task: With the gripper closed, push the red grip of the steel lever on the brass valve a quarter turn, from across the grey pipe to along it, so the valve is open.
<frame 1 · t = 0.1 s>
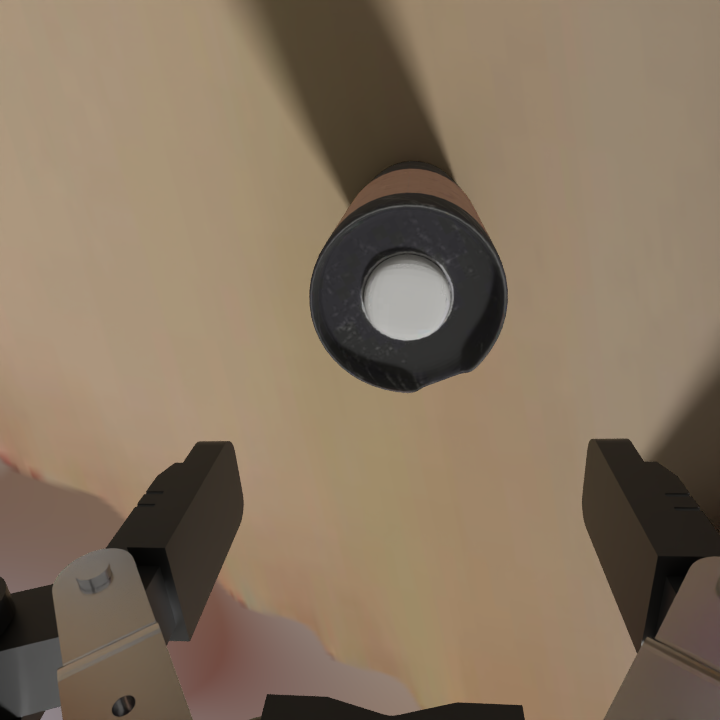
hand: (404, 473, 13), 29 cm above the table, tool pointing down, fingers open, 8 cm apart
travel mug: (411, 214, 39), on the table
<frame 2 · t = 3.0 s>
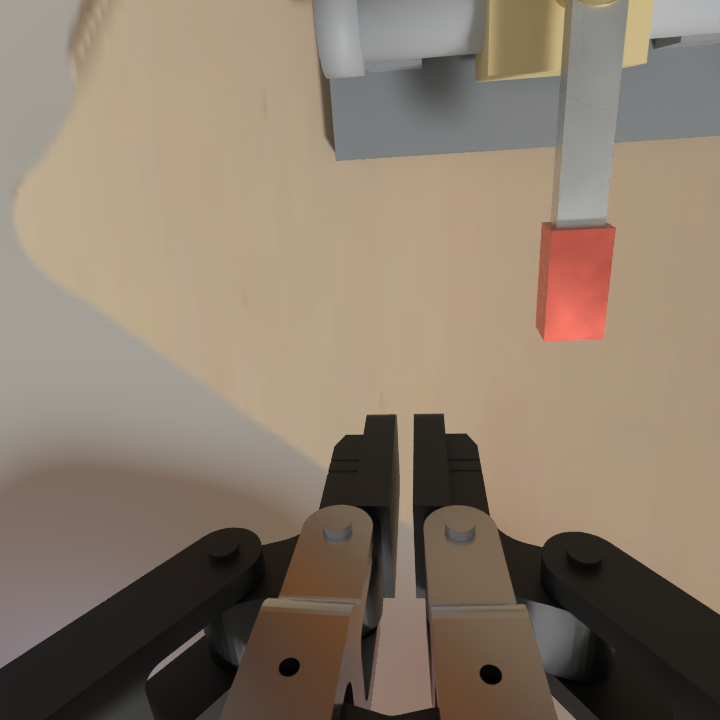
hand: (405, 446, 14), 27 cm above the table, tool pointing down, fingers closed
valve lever: (583, 153, 23), point 13 cm above the table, hinge at 0.0°
valve stand: (532, 18, 33), on the table
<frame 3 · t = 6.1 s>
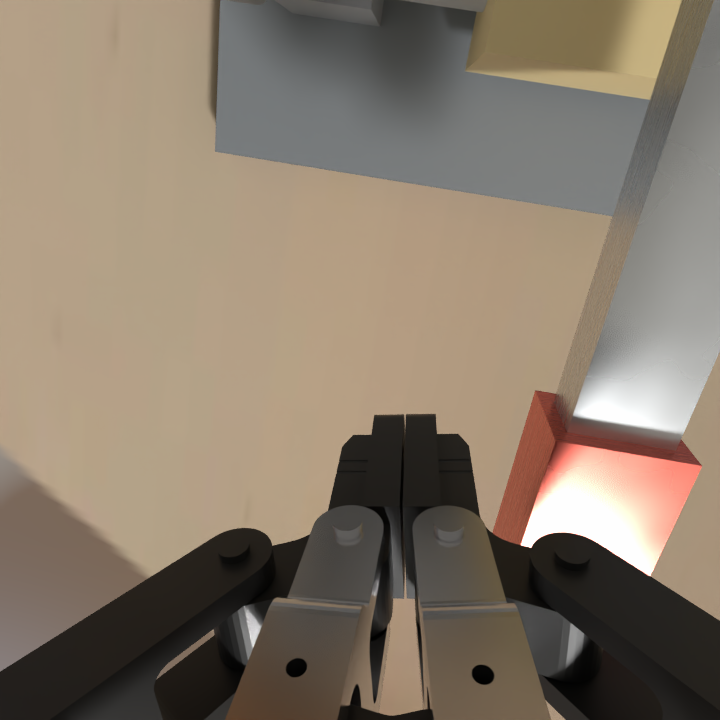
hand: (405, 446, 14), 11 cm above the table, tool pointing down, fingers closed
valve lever: (666, 279, 10), point 13 cm above the table, hinge at 0.4°, touching gripper
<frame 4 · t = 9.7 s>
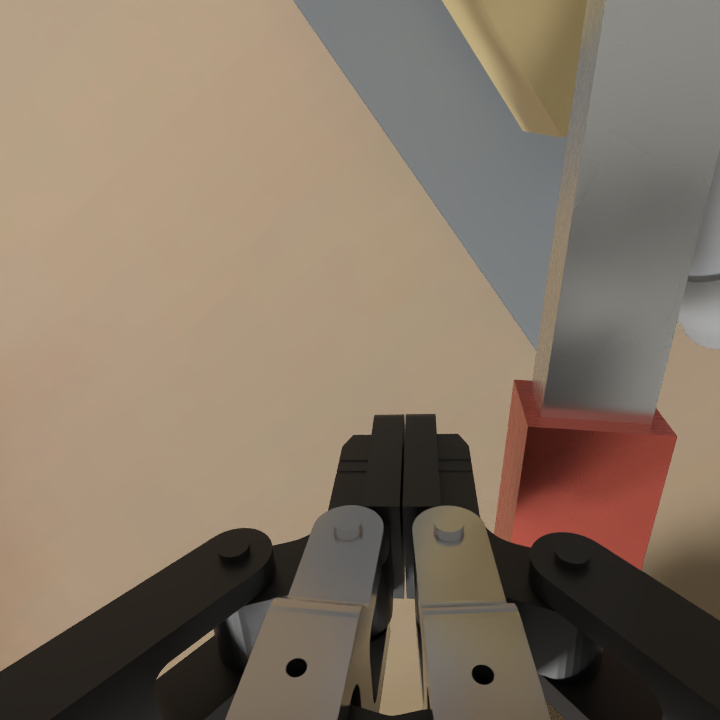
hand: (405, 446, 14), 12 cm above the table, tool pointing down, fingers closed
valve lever: (616, 257, 10), point 13 cm above the table, hinge at 52.0°, touching gripper
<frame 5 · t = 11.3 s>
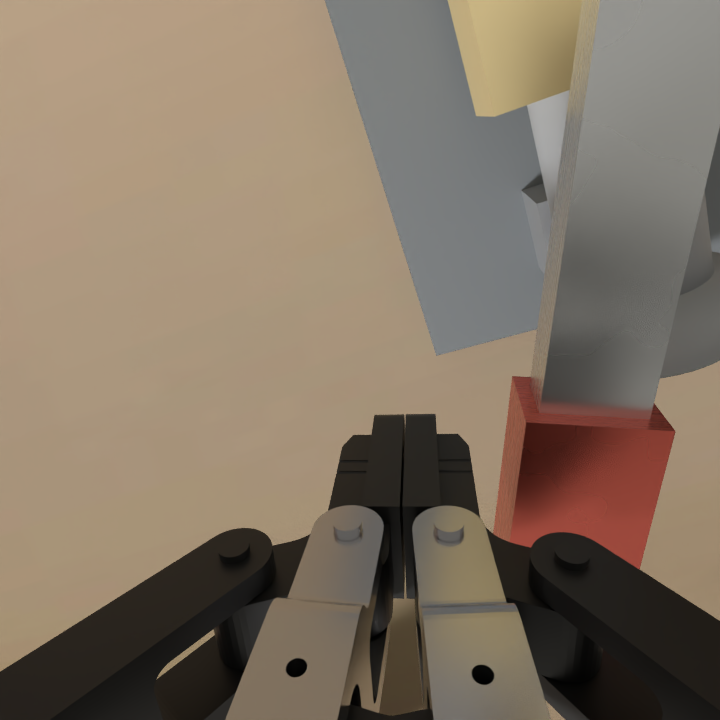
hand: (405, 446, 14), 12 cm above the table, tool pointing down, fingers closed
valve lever: (613, 253, 10), point 13 cm above the table, hinge at 70.8°, touching gripper
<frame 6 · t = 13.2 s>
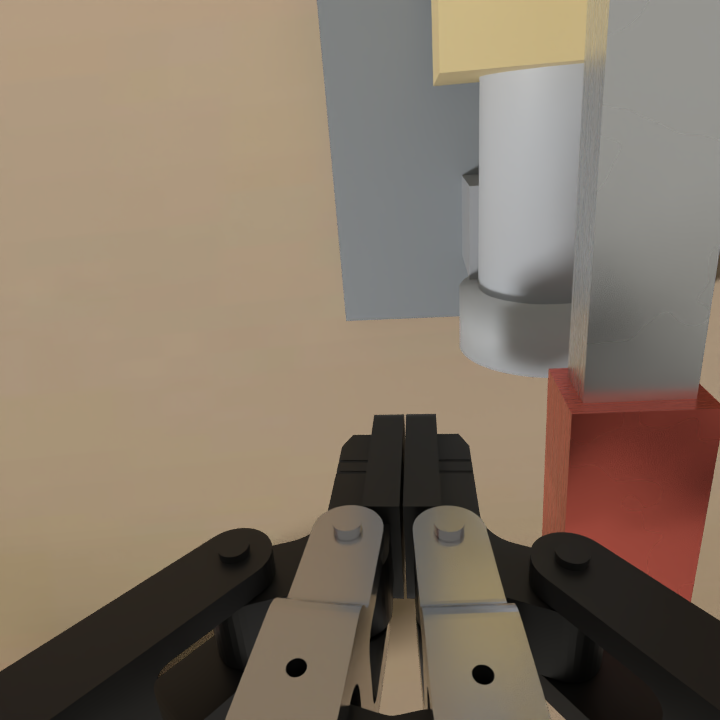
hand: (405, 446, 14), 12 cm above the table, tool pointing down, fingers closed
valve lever: (643, 235, 10), point 13 cm above the table, hinge at 91.1°
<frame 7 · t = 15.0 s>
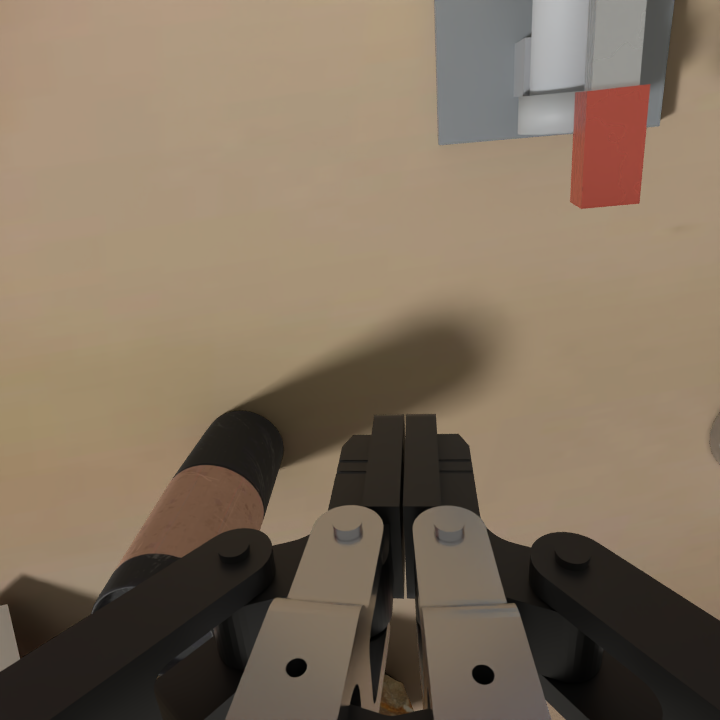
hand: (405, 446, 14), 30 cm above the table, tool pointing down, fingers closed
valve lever: (616, 11, 24), point 13 cm above the table, hinge at 91.1°
rough brown rock: (326, 670, 63), on the table
travel mug: (245, 443, 51), on the table
pizza boxes: (73, 684, 67), on the table
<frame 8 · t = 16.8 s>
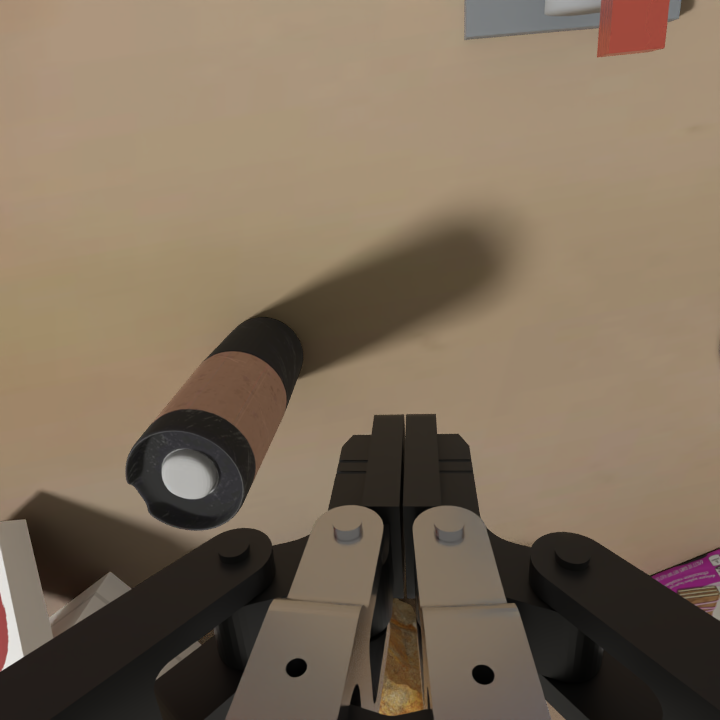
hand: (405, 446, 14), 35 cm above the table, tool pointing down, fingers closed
candy bar box: (675, 580, 58), on the table
rough brown rock: (336, 593, 64), on the table
travel mug: (266, 351, 52), on the table
pizza boxes: (85, 608, 69), on the table
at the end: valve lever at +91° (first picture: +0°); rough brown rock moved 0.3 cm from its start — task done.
